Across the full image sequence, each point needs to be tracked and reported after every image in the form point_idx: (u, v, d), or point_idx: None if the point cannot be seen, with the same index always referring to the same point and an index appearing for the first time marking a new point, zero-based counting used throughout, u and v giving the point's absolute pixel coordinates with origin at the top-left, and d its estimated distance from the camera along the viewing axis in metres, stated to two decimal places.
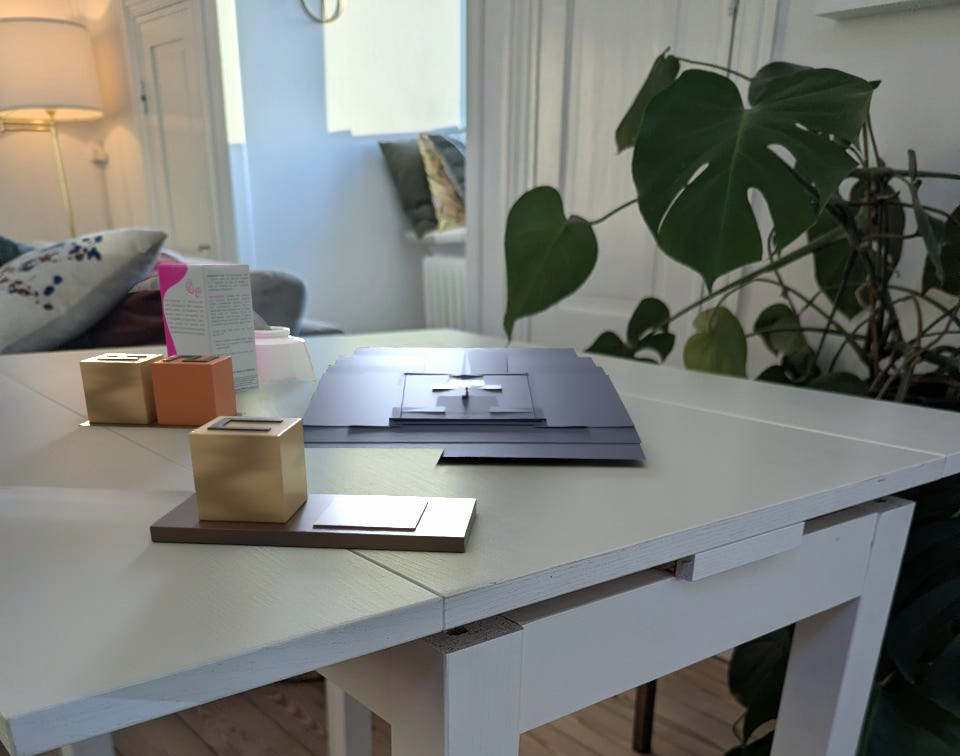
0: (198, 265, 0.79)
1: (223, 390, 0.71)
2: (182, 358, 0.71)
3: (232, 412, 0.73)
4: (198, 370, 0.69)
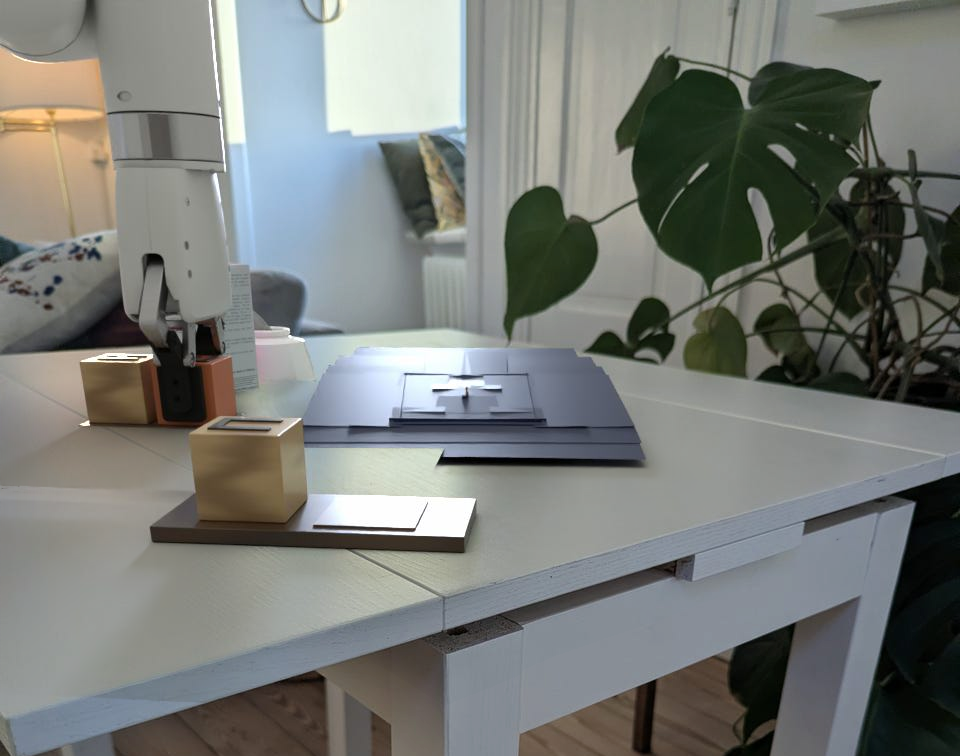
0: None
1: (223, 390, 0.71)
2: None
3: (232, 412, 0.73)
4: None
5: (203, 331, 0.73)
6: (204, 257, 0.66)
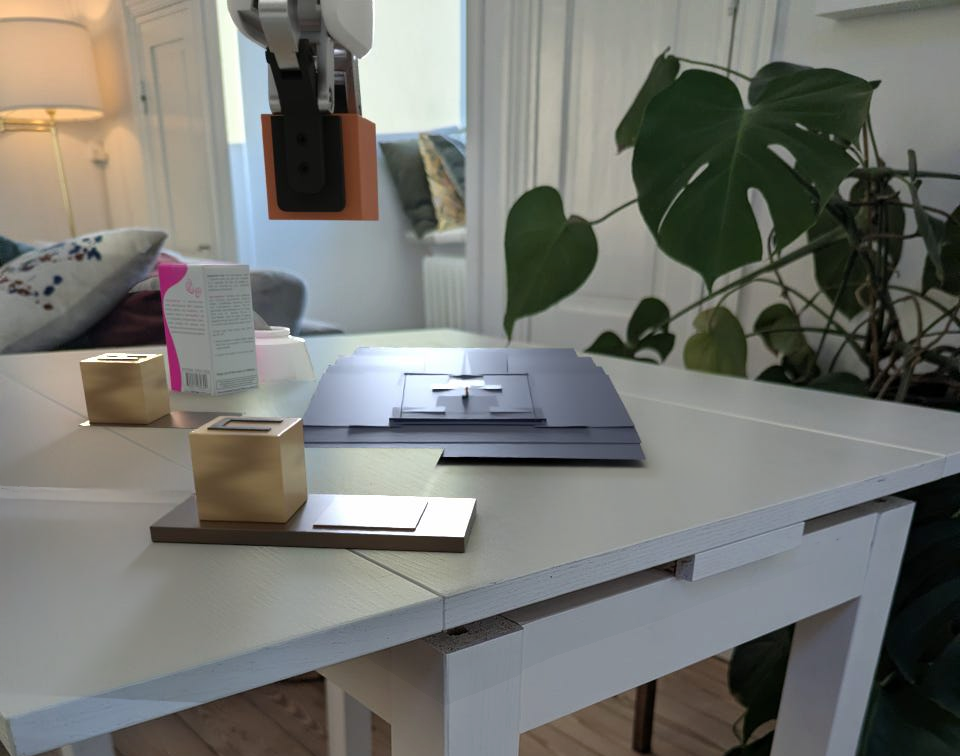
0: (198, 265, 0.79)
1: (368, 169, 0.46)
2: None
3: (375, 212, 0.48)
4: None
5: None
6: None
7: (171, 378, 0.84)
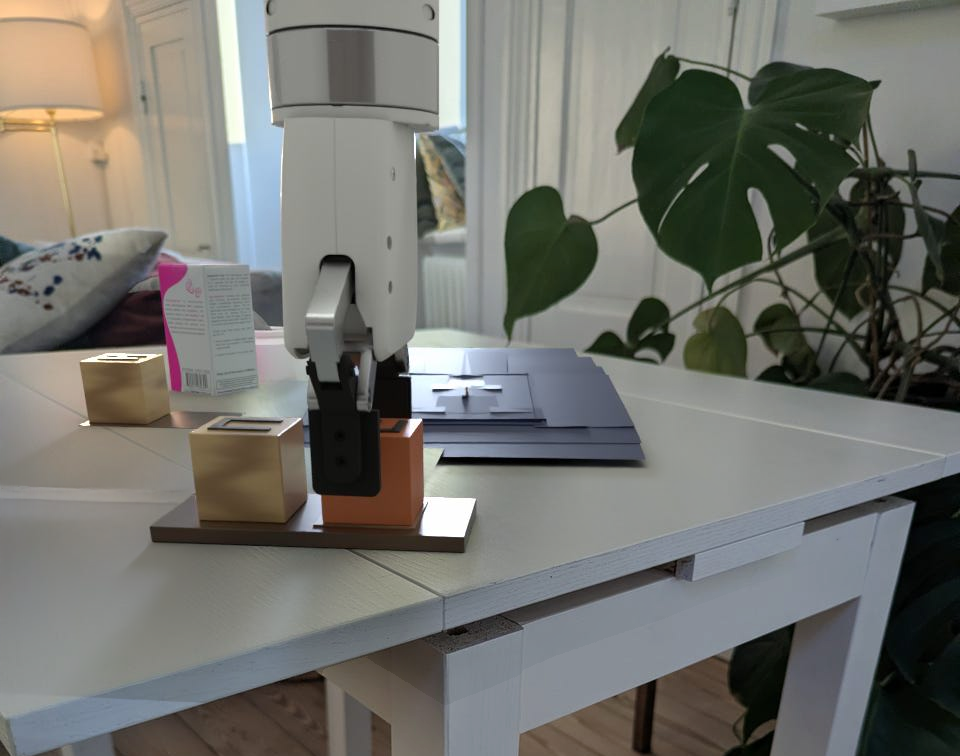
0: (198, 265, 0.79)
1: (417, 471, 0.48)
2: None
3: (421, 499, 0.50)
4: (389, 446, 0.46)
5: None
6: (404, 261, 0.43)
7: (171, 378, 0.84)
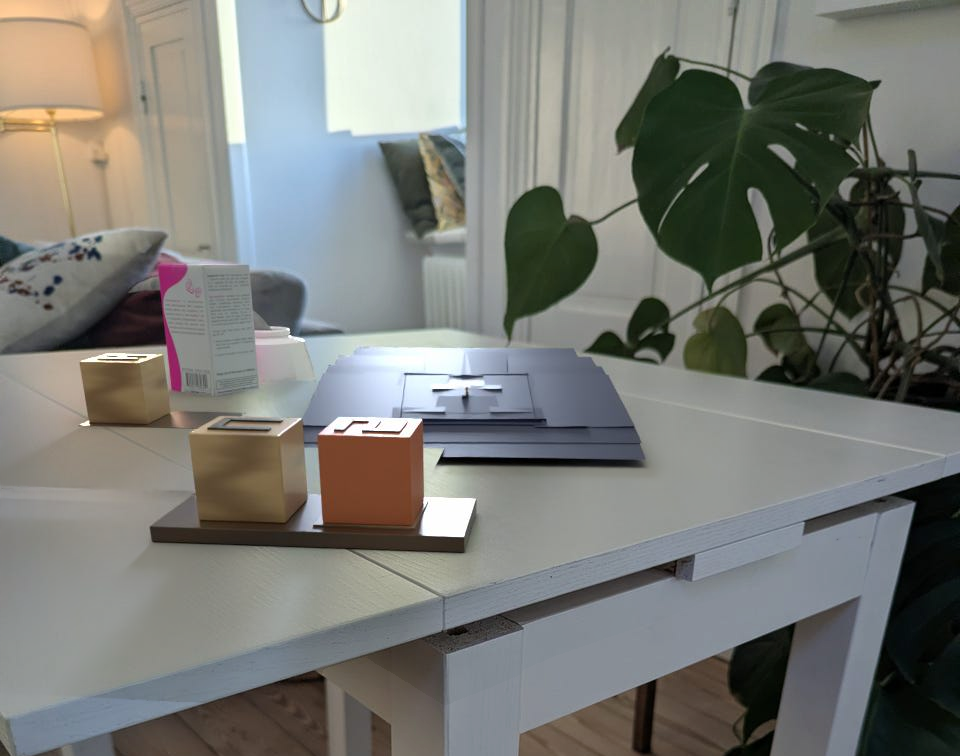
0: (198, 265, 0.79)
1: (417, 471, 0.48)
2: (356, 424, 0.48)
3: (421, 499, 0.50)
4: (389, 446, 0.46)
5: None
6: None
7: (171, 378, 0.84)
